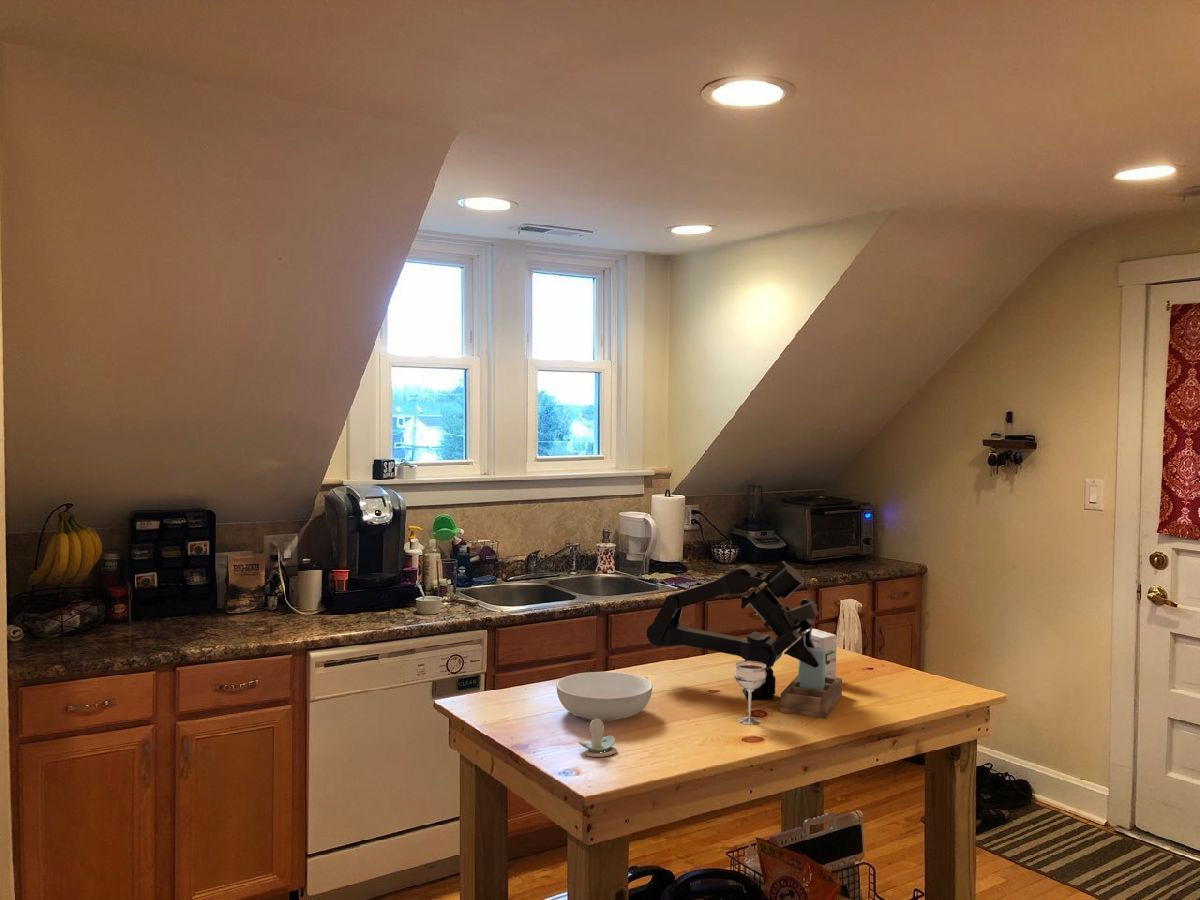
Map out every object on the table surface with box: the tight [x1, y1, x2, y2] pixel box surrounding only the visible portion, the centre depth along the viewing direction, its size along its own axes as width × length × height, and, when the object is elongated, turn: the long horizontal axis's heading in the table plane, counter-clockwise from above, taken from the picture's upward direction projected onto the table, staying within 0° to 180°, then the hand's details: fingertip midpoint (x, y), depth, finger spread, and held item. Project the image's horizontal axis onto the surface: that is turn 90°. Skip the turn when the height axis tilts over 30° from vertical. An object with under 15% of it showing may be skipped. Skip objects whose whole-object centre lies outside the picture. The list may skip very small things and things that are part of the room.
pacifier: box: [578, 719, 618, 758], centre depth 178 cm, size 7×6×6 cm
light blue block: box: [800, 647, 826, 690], centre depth 210 cm, size 5×3×10 cm, turn 65°
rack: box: [779, 673, 843, 719], centre depth 210 cm, size 10×19×4 cm, turn 155°
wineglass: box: [733, 660, 766, 726], centre depth 198 cm, size 7×7×12 cm
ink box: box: [797, 628, 838, 678], centre depth 230 cm, size 8×5×12 cm, turn 32°
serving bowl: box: [555, 671, 654, 722], centre depth 200 cm, size 21×21×7 cm
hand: (818, 664), depth 210 cm, fingers open, 3 cm apart
